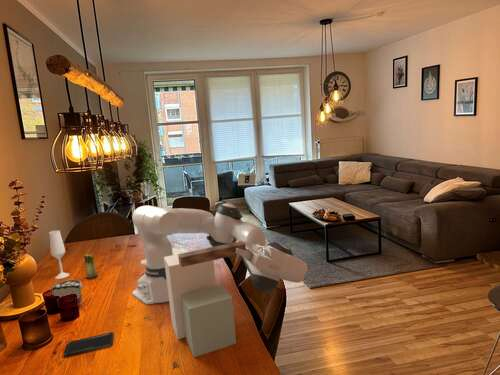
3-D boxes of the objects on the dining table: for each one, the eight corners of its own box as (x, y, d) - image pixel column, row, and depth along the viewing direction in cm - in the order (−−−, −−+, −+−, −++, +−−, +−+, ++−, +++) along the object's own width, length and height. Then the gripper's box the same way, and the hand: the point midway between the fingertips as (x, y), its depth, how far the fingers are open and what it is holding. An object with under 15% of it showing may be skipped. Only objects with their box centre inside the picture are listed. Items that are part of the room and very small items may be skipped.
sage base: (226, 328, 121) (221, 285, 119) (236, 343, 112) (232, 297, 110) (186, 340, 116) (181, 295, 114) (193, 357, 107) (188, 309, 104)
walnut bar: (241, 249, 116) (241, 241, 115) (245, 252, 113) (245, 243, 112) (179, 263, 108) (178, 254, 107) (181, 267, 104) (180, 257, 104)
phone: (67, 342, 119) (113, 331, 124) (67, 345, 119) (114, 334, 124) (62, 355, 112) (112, 343, 116) (63, 359, 112) (112, 346, 116)
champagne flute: (64, 272, 186) (57, 229, 182) (72, 274, 182) (64, 230, 178) (52, 277, 180) (44, 232, 176) (59, 279, 177) (51, 234, 173)
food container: (90, 299, 152) (86, 277, 150) (83, 306, 146) (80, 284, 144) (61, 301, 152) (57, 280, 150) (54, 309, 146) (50, 286, 144)
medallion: (194, 260, 189) (194, 256, 189) (143, 271, 180) (142, 267, 179) (185, 248, 211) (185, 244, 210) (139, 257, 201) (139, 253, 201)
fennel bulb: (86, 277, 177) (82, 254, 175) (96, 274, 180) (92, 252, 178) (88, 280, 173) (84, 257, 171) (98, 277, 176) (95, 254, 174)
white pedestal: (211, 313, 132) (205, 248, 128) (220, 326, 123) (213, 256, 118) (172, 325, 126) (163, 257, 122) (177, 339, 117) (168, 266, 113)
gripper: (278, 279, 108) (240, 267, 103) (251, 259, 127) (218, 248, 121) (286, 261, 109) (249, 247, 103) (258, 243, 127) (225, 231, 122)
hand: (232, 247), depth 112 cm, fingers closed on walnut bar, 3 cm apart
